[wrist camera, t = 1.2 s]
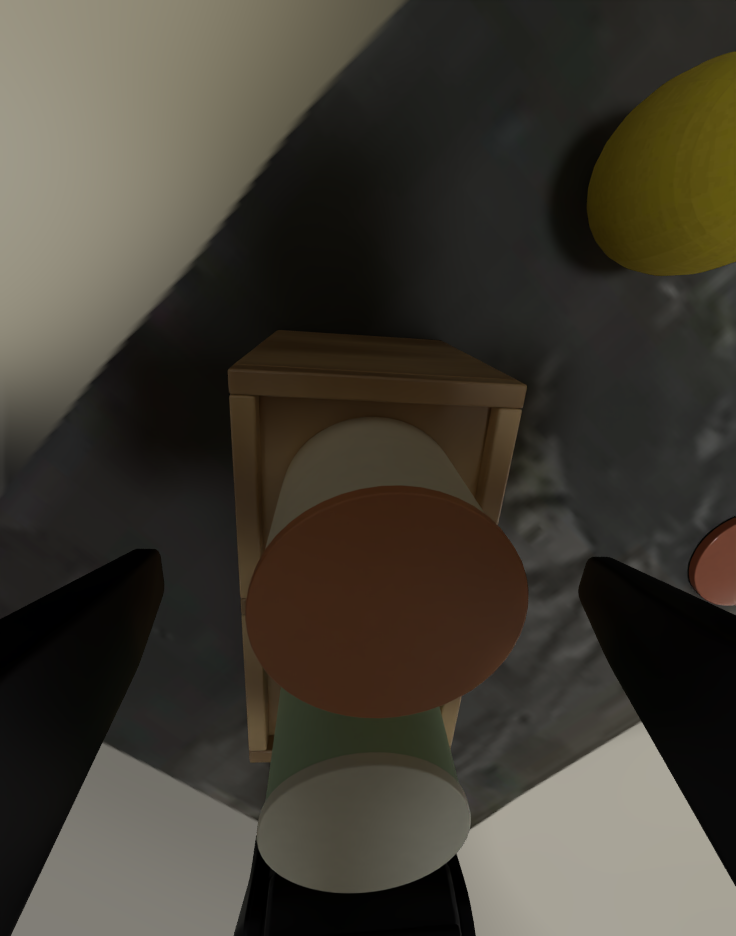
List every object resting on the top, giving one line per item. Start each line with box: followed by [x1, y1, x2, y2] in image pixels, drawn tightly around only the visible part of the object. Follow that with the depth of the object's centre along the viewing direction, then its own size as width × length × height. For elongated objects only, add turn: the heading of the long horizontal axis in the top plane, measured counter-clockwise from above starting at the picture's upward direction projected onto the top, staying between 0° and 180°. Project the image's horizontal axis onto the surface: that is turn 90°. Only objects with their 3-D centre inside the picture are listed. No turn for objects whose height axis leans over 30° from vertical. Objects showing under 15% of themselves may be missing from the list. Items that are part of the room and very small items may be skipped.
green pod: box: [257, 687, 471, 893], centre depth 12 cm, size 5×5×5 cm
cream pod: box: [245, 417, 528, 718], centre depth 10 cm, size 5×5×5 cm
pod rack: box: [228, 330, 527, 763], centre depth 17 cm, size 13×7×9 cm, turn 176°
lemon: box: [587, 51, 736, 276], centre depth 13 cm, size 6×6×8 cm
